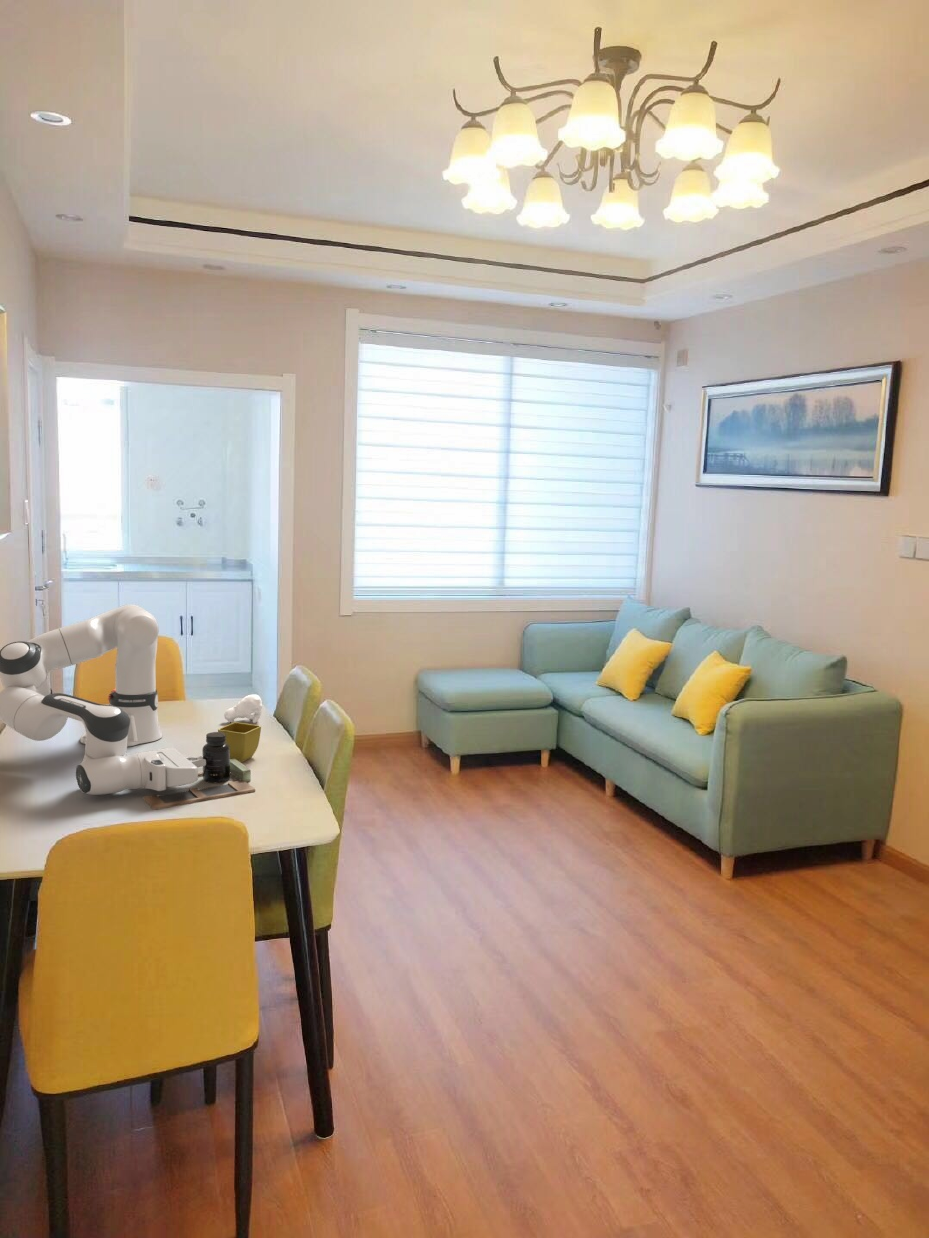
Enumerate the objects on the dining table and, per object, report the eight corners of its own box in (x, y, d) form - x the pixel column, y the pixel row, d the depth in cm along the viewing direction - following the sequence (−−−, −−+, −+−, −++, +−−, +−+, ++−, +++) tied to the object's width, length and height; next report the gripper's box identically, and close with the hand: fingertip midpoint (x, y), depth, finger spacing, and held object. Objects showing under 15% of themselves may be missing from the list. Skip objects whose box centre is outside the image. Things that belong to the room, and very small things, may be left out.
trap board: (153, 809, 214) (153, 797, 213) (131, 785, 229) (130, 774, 229) (262, 790, 229) (262, 778, 229) (234, 769, 245) (234, 758, 244)
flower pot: (262, 756, 256) (262, 725, 255) (245, 765, 248) (244, 733, 247) (235, 752, 259) (234, 721, 258) (217, 761, 251) (216, 729, 250)
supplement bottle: (205, 774, 239) (205, 730, 237) (232, 775, 240) (232, 730, 238) (200, 783, 232) (199, 737, 231) (227, 783, 233) (227, 737, 231)
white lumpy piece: (262, 695, 290) (224, 702, 285) (265, 721, 291) (227, 728, 287) (258, 691, 296) (221, 697, 291) (261, 716, 297) (224, 723, 293)
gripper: (137, 769, 234) (191, 761, 242) (161, 793, 217) (217, 784, 225) (136, 745, 233) (190, 738, 241) (160, 767, 216) (217, 759, 224)
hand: (204, 760), depth 233 cm, fingers closed
